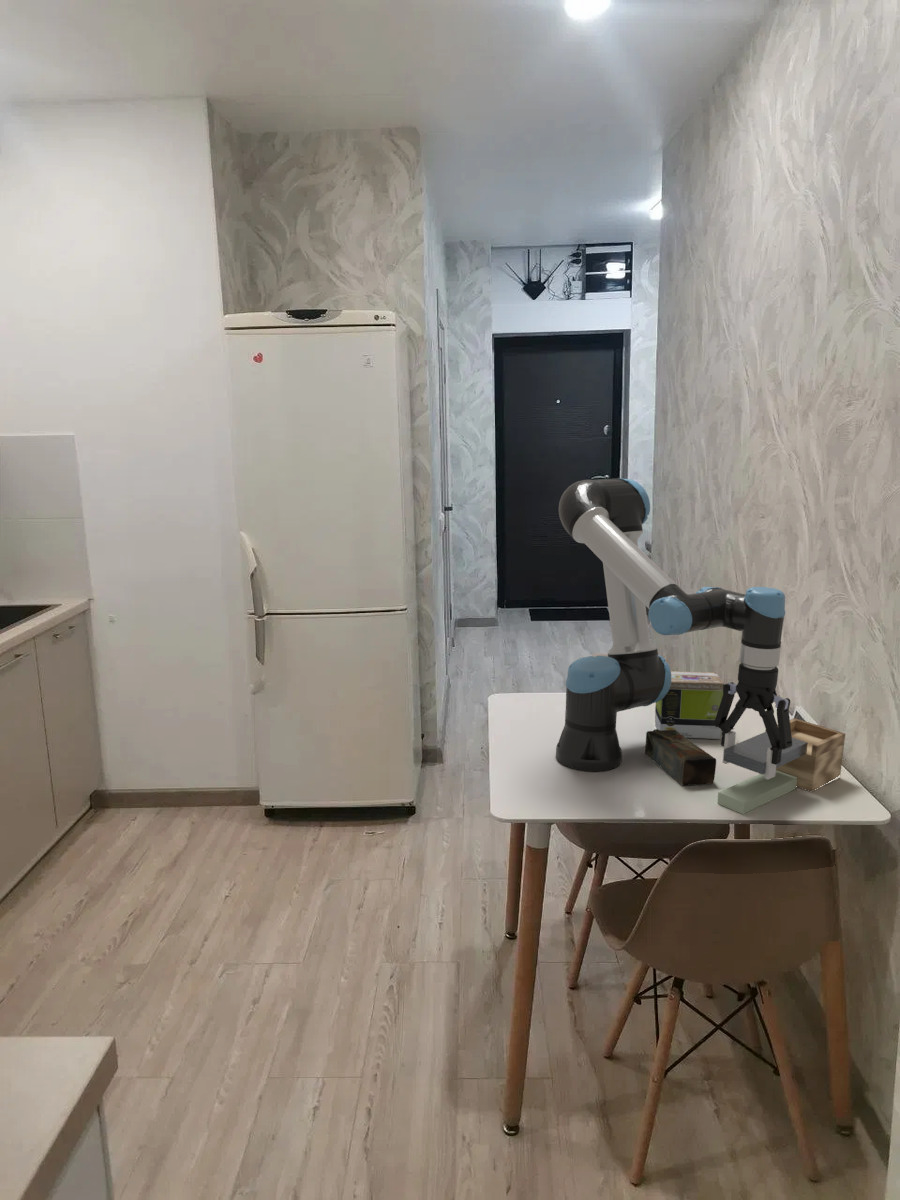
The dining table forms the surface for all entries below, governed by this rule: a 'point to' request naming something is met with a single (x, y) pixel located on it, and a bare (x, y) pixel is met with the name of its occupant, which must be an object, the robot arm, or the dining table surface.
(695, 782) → the beverage carton
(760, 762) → the cover plate
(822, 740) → the oak box
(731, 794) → the block
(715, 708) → the tea box
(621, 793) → the dining table surface
